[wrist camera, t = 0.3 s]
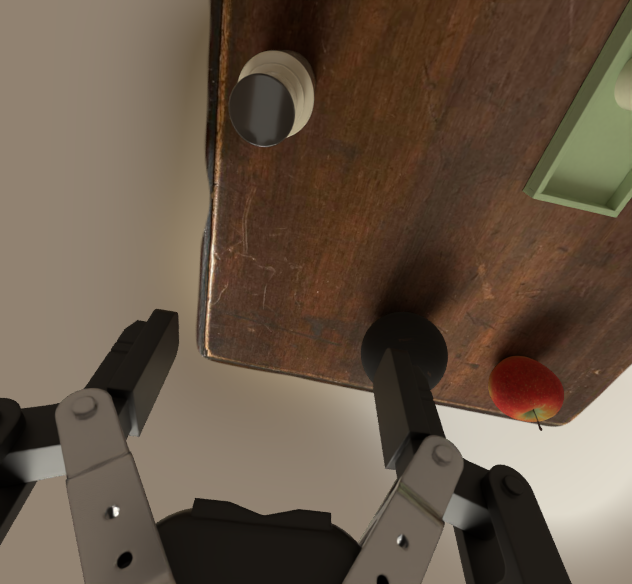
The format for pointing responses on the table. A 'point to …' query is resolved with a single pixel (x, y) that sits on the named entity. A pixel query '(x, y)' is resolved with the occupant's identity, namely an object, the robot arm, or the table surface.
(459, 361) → the table surface
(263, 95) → the bottle
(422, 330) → the black ball
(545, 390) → the apple
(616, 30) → the tray
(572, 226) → the table surface
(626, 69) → the bottle
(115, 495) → the robot arm
